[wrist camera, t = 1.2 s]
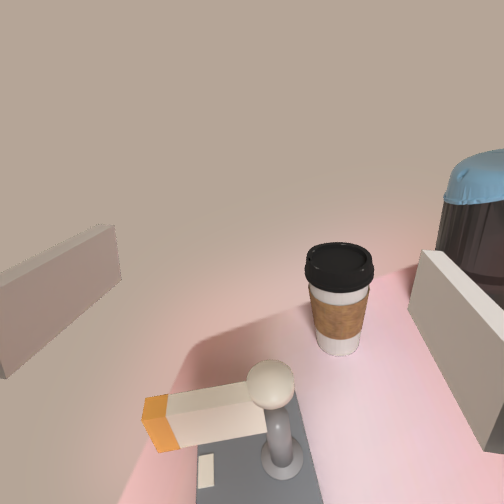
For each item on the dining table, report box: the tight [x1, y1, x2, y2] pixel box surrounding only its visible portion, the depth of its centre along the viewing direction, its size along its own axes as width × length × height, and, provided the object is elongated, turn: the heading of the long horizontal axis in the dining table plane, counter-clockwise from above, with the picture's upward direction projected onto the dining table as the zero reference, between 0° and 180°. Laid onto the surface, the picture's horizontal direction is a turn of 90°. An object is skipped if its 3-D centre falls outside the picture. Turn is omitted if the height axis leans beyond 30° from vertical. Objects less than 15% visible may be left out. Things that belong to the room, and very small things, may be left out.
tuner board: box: [196, 390, 323, 504], centre depth 35 cm, size 12×18×2 cm
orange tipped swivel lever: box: [141, 360, 295, 468], centre depth 31 cm, size 13×4×12 cm, turn 97°
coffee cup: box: [305, 242, 374, 356], centre depth 44 cm, size 8×8×15 cm
